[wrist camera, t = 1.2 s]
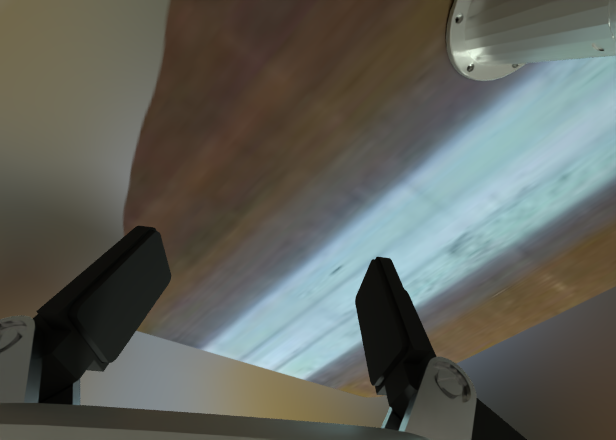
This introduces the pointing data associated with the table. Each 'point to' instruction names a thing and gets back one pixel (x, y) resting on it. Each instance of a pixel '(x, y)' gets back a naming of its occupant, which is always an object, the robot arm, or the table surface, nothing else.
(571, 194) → the table surface
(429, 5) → the table surface
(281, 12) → the table surface
